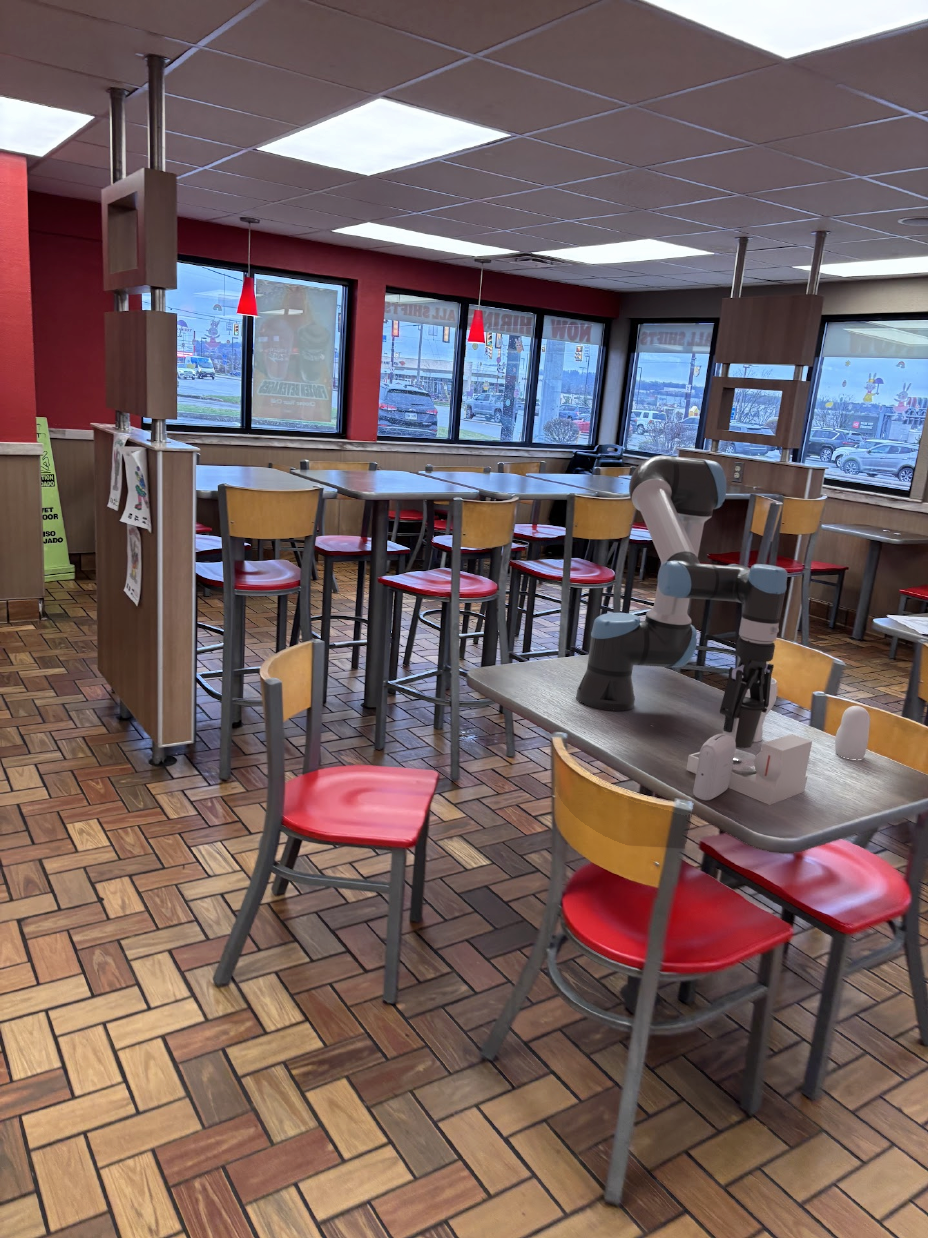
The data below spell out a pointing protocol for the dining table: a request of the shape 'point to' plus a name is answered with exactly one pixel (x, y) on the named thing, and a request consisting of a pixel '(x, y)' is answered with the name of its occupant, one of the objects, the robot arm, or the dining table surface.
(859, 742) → the figurine
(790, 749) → the base
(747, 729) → the coffee cup
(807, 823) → the dining table surface
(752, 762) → the pan
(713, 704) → the dining table surface
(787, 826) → the dining table surface
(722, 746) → the photo printer
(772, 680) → the cup
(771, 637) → the robot arm
